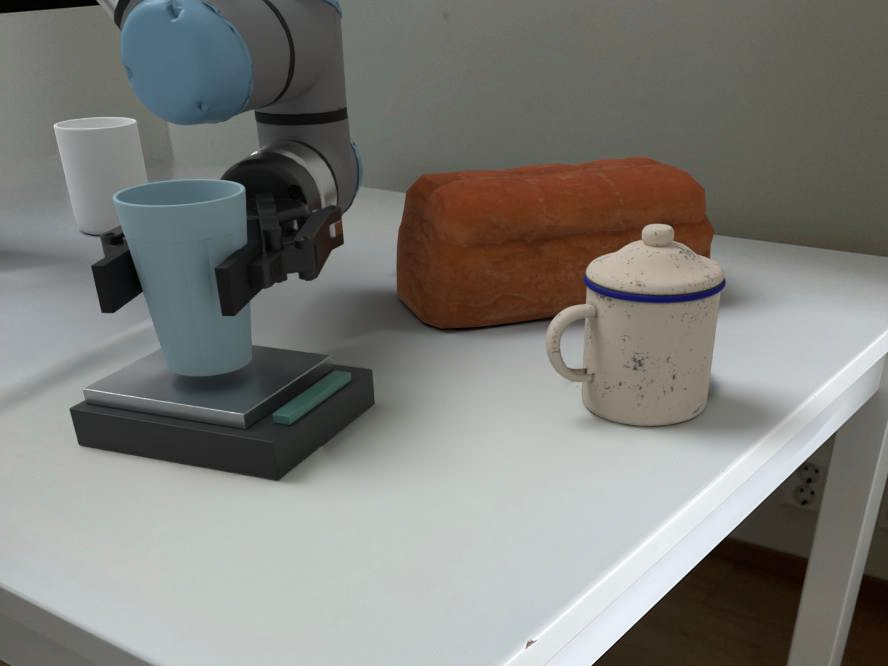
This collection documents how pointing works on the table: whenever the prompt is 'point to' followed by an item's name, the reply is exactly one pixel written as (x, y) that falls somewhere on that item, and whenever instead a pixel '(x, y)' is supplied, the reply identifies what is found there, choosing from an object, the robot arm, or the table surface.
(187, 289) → the cup
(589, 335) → the teacup with lid
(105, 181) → the mug
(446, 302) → the bread
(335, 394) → the scale
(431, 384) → the table surface
